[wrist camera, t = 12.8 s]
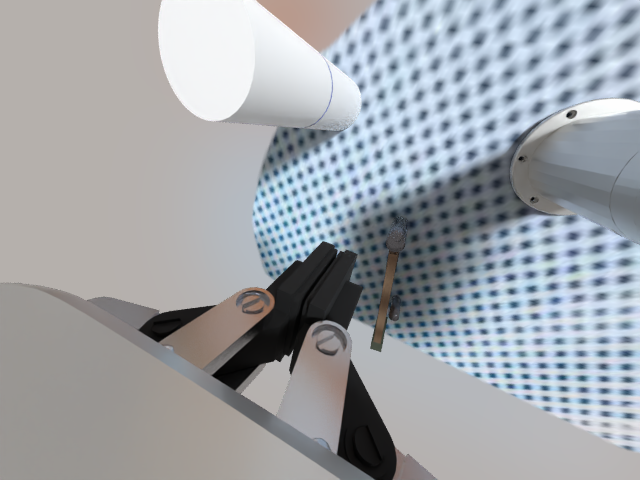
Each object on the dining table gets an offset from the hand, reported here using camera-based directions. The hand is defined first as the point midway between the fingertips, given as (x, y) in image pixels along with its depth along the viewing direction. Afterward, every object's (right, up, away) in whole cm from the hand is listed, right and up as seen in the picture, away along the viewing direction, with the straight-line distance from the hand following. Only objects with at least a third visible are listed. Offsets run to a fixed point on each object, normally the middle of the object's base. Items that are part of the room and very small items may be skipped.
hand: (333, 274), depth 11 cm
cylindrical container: (+2, +22, +24) cm, 33 cm away
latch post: (+14, -10, +33) cm, 37 cm away
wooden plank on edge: (+12, -6, +31) cm, 34 cm away
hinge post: (+13, +4, +27) cm, 30 cm away
